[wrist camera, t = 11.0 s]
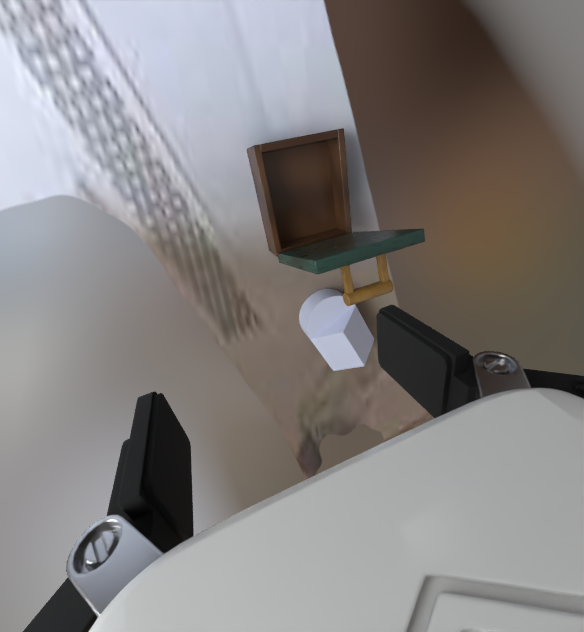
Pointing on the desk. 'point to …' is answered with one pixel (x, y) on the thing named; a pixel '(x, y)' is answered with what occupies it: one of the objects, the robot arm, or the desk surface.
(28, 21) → the desk surface
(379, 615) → the robot arm
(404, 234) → the panel with handle
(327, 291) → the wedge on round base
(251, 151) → the drawer box
